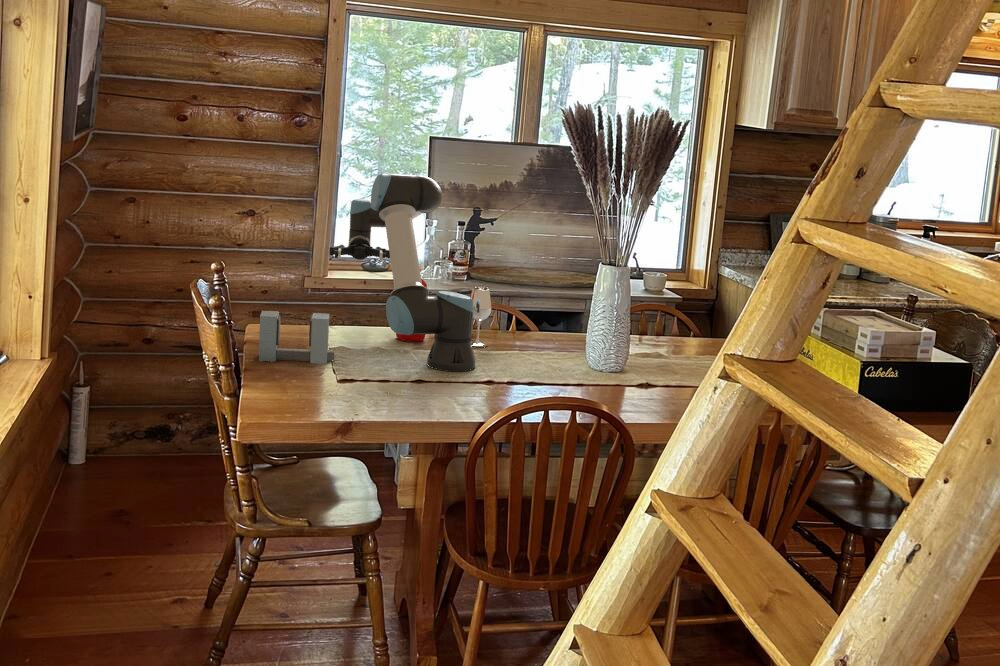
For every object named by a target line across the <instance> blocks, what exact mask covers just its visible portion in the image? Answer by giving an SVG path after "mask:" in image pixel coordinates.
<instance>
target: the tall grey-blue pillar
mask: <svg viewBox="0 0 1000 666" xmlns="http://www.w3.org/2000/svg"><path fill="white" fill-rule="evenodd" d="M329 331H330V313H321V312H319V313H318V312H313V313H312V316H310V319H309V331H308V332H309V334H308V337H309V338H308V347H310V349H311V354H310V361H309V363H310V364H317V365H318V364H320V365H327V364H328V362H327V350H329Z"/></svg>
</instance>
